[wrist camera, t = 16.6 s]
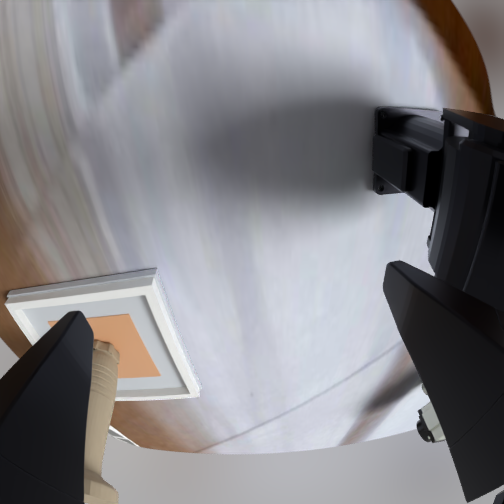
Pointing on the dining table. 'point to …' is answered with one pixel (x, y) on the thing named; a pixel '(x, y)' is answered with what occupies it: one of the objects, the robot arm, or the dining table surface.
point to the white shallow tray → (118, 329)
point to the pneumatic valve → (429, 423)
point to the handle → (100, 422)
